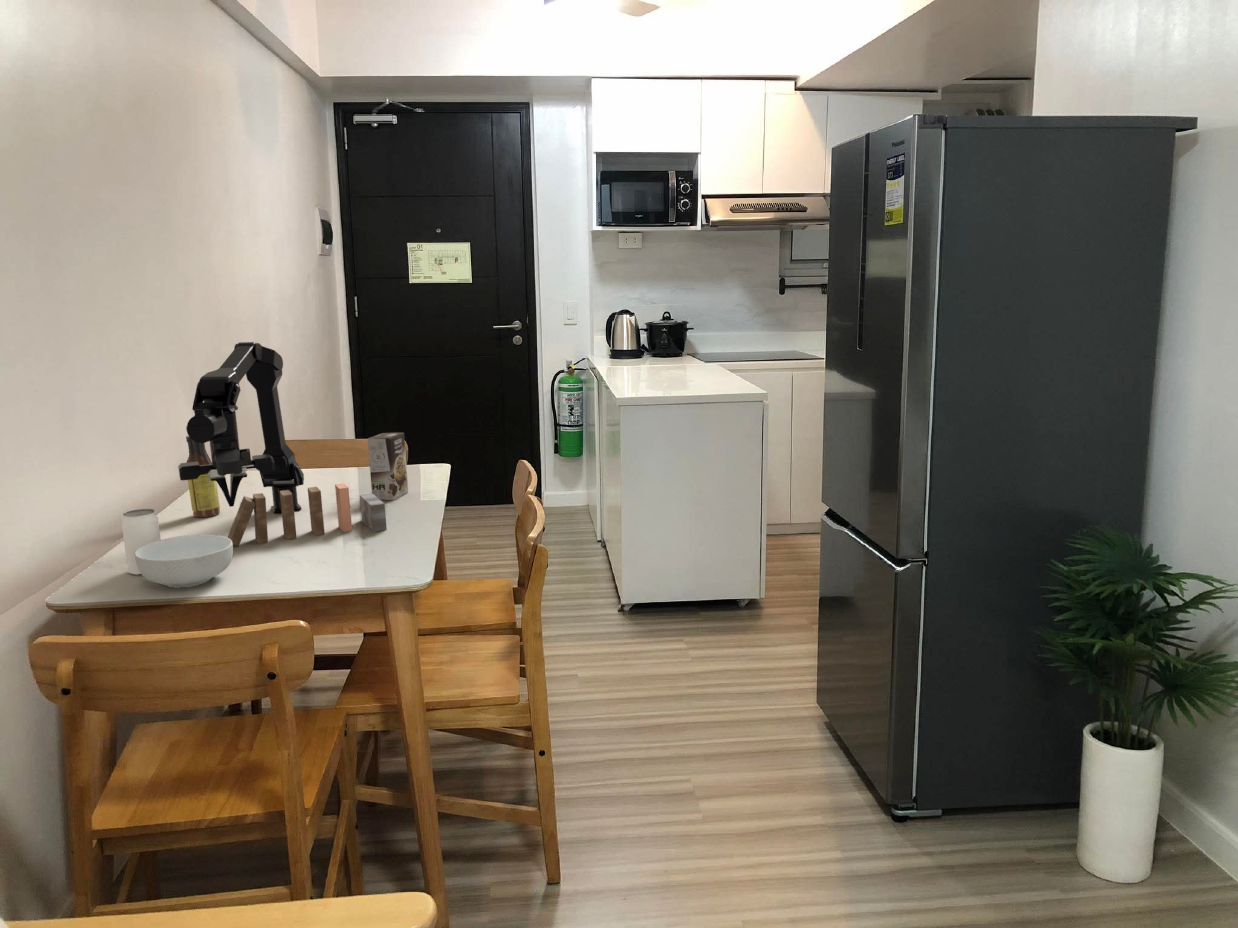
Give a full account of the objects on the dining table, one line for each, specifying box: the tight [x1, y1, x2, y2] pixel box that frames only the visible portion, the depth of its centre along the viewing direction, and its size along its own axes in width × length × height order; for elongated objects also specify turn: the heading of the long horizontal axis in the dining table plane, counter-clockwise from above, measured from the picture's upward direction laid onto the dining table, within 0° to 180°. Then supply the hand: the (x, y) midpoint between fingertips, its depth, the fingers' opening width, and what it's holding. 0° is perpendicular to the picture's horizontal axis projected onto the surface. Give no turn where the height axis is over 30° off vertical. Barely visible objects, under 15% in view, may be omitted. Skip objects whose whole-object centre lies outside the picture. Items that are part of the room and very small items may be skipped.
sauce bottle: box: [185, 434, 221, 518], centre depth 232 cm, size 6×6×20 cm
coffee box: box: [367, 432, 409, 501], centre depth 248 cm, size 9×6×16 cm
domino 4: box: [307, 486, 326, 537], centre depth 215 cm, size 2×5×10 cm, turn 27°
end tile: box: [334, 483, 353, 533], centre depth 217 cm, size 2×5×10 cm, turn 27°
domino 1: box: [226, 495, 256, 547], centre depth 208 cm, size 2×5×10 cm, turn 27°
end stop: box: [359, 493, 388, 533], centre depth 220 cm, size 12×3×6 cm, turn 27°
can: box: [121, 508, 162, 575], centre depth 189 cm, size 6×6×12 cm
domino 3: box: [280, 490, 298, 541], centre depth 212 cm, size 2×5×10 cm, turn 27°
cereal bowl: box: [135, 534, 234, 589], centre depth 182 cm, size 17×17×7 cm
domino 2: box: [252, 492, 269, 545], centre depth 209 cm, size 2×5×10 cm, turn 27°
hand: (231, 506), depth 206 cm, fingers closed
